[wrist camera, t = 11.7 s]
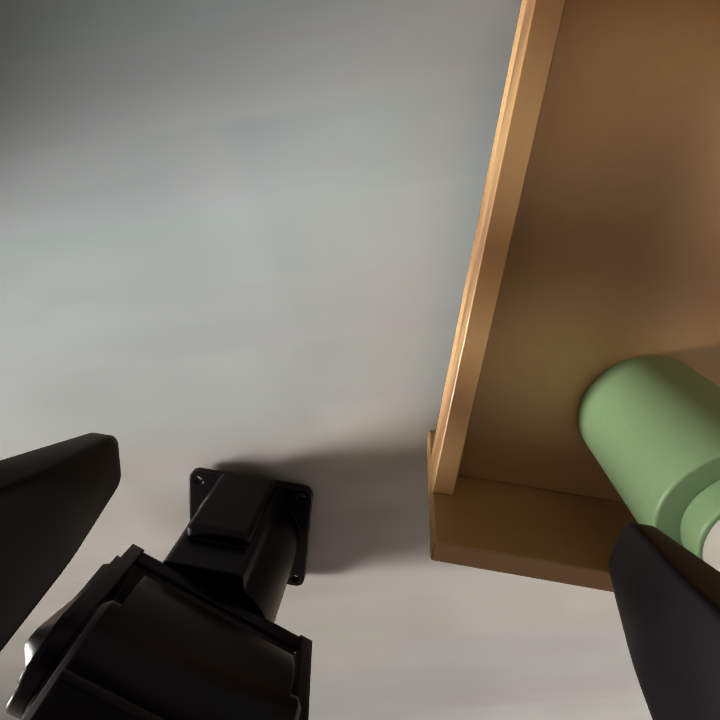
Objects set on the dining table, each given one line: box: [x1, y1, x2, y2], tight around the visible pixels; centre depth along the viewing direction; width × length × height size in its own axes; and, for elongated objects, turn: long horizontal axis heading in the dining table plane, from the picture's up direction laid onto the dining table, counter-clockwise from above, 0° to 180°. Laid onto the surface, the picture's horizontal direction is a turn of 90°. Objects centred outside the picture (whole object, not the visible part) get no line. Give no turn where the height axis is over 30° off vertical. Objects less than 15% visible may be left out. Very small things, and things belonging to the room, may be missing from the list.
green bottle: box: [578, 356, 720, 572], centre depth 13 cm, size 4×4×8 cm
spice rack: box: [427, 0, 720, 592], centre depth 15 cm, size 19×14×8 cm
